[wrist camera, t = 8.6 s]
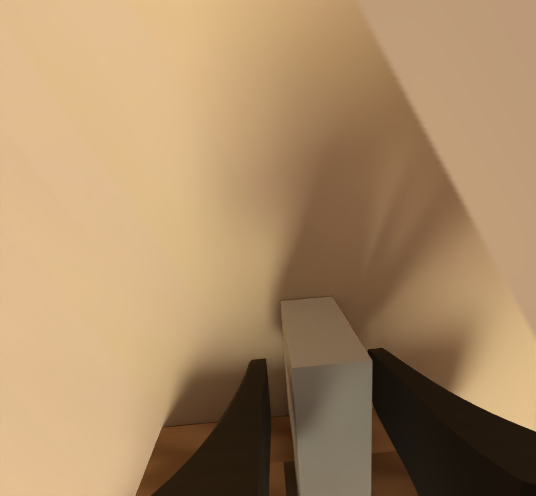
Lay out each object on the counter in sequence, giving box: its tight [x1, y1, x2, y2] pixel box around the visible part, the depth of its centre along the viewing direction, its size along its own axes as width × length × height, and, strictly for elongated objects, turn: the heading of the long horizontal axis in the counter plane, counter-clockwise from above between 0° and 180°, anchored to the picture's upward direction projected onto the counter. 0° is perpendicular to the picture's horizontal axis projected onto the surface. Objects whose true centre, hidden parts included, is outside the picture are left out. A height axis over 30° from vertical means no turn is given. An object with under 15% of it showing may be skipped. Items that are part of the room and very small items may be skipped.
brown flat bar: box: [136, 408, 418, 496], centre depth 13 cm, size 14×2×5 cm, turn 95°
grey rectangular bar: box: [280, 296, 372, 496], centre depth 13 cm, size 15×2×5 cm, turn 5°
